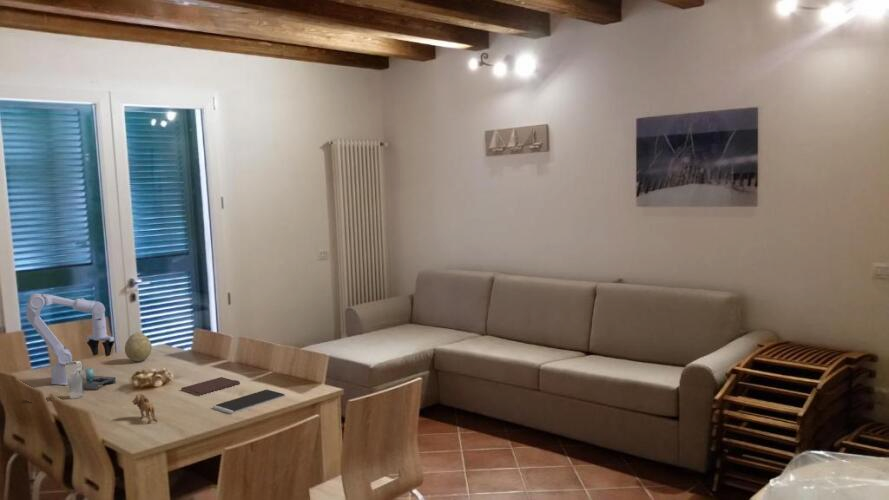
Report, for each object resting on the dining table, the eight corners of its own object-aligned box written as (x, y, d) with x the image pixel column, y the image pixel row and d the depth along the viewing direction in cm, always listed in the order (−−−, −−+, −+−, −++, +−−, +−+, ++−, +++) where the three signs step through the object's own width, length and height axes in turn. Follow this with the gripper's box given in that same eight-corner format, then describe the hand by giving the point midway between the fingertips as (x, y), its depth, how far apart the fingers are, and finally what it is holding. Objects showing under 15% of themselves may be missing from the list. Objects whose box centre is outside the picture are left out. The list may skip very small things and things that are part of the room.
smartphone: (287, 397, 281) (287, 393, 281) (231, 415, 260) (231, 411, 260) (267, 392, 290) (267, 388, 289) (211, 409, 269) (211, 405, 268)
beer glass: (67, 400, 287) (64, 365, 285) (67, 396, 293) (64, 362, 291) (85, 397, 290) (82, 363, 288) (85, 393, 296) (82, 359, 295)
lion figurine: (131, 417, 261) (129, 395, 260) (145, 413, 265) (143, 391, 264) (150, 425, 252) (149, 401, 251) (164, 420, 256) (162, 397, 255)
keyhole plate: (74, 388, 304) (73, 382, 304) (94, 381, 315) (93, 375, 314) (96, 390, 300) (96, 384, 300) (115, 383, 310) (115, 377, 310)
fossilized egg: (130, 358, 356) (128, 331, 354) (155, 357, 357) (153, 329, 356) (122, 365, 343) (119, 336, 342) (148, 363, 345) (145, 334, 343)
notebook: (181, 391, 295) (181, 386, 295) (221, 380, 311) (221, 376, 310) (199, 397, 286) (199, 392, 286) (240, 385, 301) (239, 381, 301)
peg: (83, 386, 307) (82, 370, 306) (90, 383, 311) (88, 368, 310) (90, 386, 306) (89, 370, 305) (97, 384, 310) (96, 368, 309)
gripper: (117, 326, 321) (120, 354, 323) (94, 325, 326) (96, 352, 327) (106, 329, 315) (108, 357, 316) (82, 328, 319) (84, 356, 321)
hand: (101, 355), depth 321 cm, fingers open, 7 cm apart
